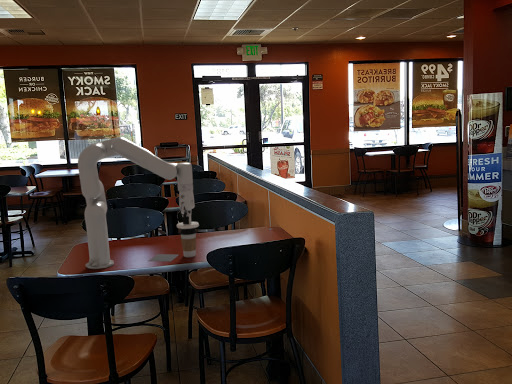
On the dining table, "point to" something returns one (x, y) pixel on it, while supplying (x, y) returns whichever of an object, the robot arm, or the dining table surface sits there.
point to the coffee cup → (188, 242)
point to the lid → (188, 226)
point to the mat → (164, 257)
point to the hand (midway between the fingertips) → (187, 222)
